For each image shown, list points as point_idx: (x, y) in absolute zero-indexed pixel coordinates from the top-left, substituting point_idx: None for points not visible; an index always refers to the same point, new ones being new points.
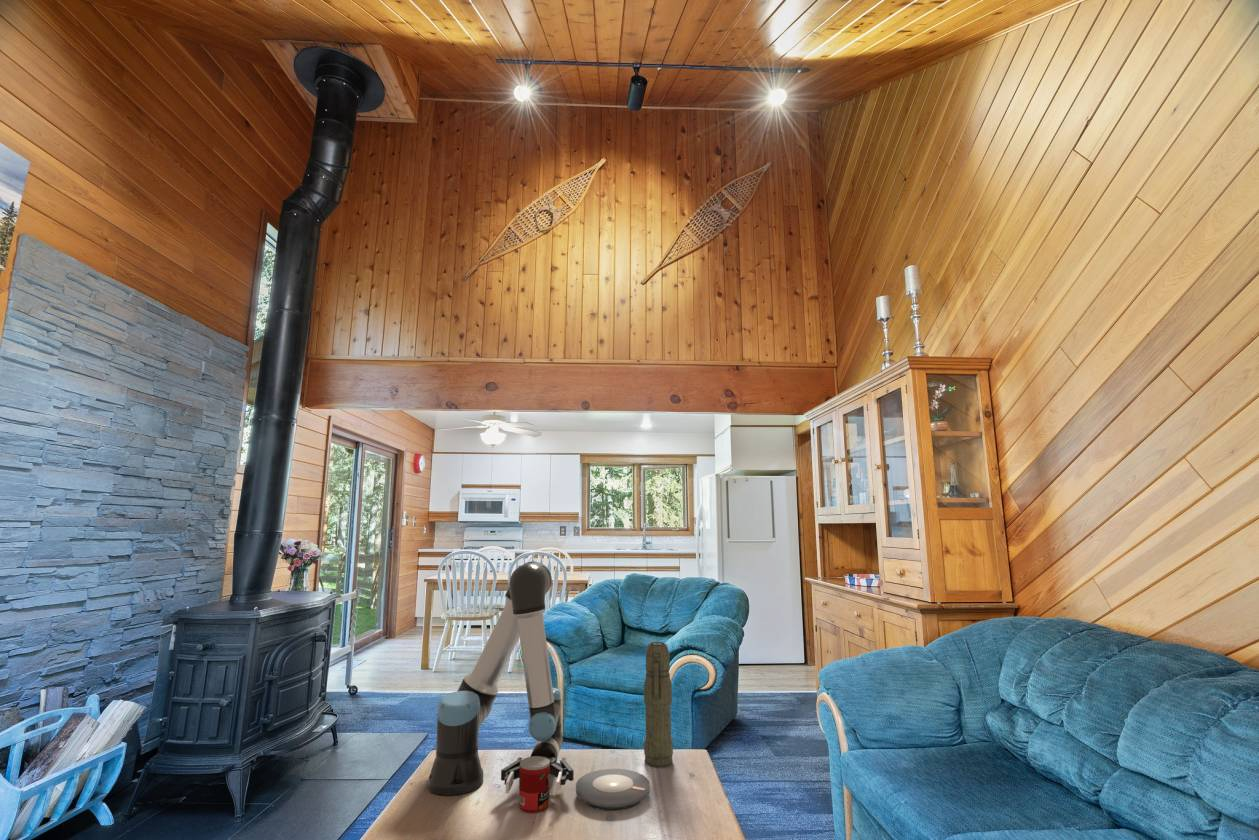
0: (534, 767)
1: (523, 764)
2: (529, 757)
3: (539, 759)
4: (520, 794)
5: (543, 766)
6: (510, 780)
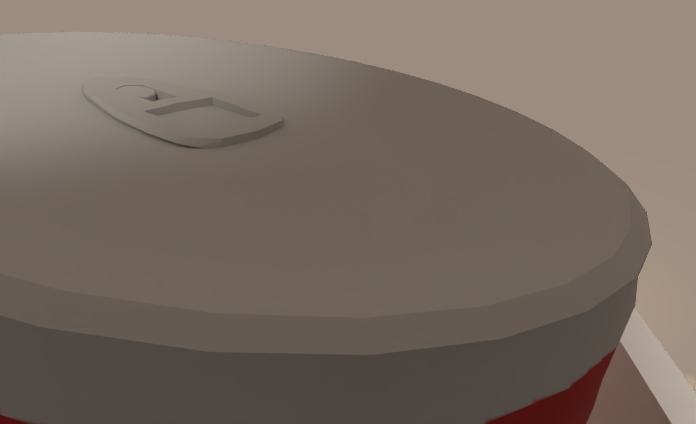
0: (267, 49)
1: (483, 124)
2: (481, 299)
3: (62, 218)
4: None
5: (112, 39)
6: (631, 402)
